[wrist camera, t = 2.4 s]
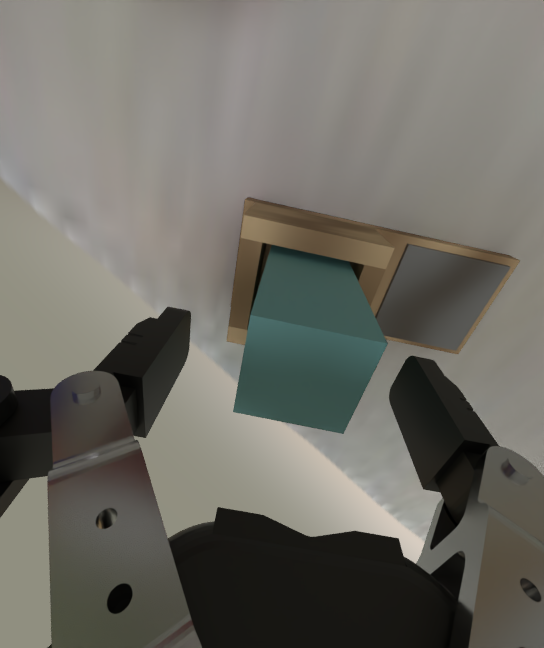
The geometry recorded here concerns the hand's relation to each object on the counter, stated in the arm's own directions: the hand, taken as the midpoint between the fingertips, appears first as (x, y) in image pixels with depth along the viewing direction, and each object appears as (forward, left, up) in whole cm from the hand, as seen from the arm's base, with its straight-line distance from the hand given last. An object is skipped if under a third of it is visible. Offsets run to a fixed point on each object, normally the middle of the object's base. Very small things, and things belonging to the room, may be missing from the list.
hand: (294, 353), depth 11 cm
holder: (-4, 0, -9) cm, 10 cm away
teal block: (0, 0, -8) cm, 8 cm away
